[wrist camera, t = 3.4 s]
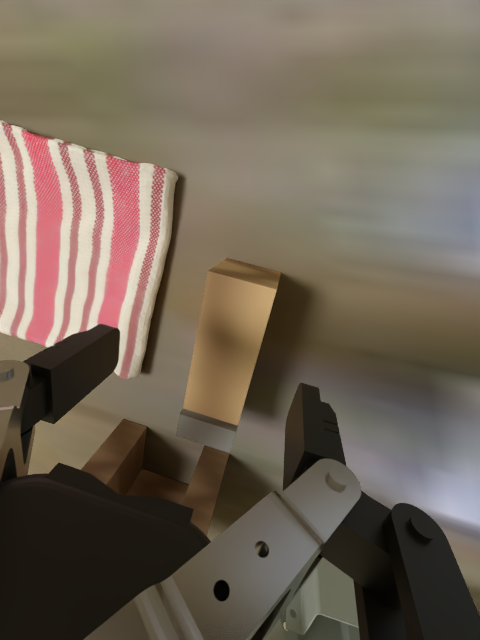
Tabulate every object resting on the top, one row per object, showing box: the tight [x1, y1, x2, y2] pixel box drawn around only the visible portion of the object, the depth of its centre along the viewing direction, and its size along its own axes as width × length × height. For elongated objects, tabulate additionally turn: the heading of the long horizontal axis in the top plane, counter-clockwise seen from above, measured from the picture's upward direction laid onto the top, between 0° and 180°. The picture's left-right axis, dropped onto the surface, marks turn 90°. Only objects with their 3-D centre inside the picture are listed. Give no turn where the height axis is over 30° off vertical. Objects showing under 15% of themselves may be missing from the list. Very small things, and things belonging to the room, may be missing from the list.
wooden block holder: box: [81, 419, 229, 536], centre depth 22 cm, size 11×8×14 cm
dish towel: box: [0, 121, 178, 379], centre depth 22 cm, size 17×23×4 cm
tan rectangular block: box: [176, 258, 281, 453], centre depth 20 cm, size 4×12×6 cm, turn 167°
